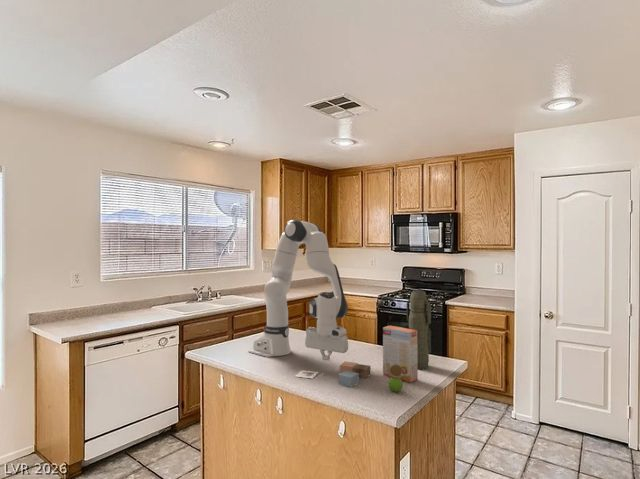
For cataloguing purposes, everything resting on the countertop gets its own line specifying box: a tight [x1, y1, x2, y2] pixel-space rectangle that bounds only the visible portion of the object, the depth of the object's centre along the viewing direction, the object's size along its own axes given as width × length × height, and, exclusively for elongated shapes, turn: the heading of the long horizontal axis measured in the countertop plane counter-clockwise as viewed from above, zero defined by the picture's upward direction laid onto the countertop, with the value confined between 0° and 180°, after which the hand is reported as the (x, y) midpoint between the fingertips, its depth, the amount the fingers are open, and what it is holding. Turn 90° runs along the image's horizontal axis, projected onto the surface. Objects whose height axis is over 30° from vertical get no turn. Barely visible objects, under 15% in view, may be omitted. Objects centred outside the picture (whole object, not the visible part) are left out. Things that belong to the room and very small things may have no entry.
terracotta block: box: [339, 361, 359, 374], centre depth 171 cm, size 6×6×4 cm
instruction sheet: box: [294, 369, 319, 380], centre depth 168 cm, size 8×8×1 cm
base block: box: [352, 363, 371, 380], centre depth 167 cm, size 6×6×4 cm
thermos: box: [406, 289, 432, 370], centre depth 179 cm, size 9×12×35 cm
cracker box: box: [382, 325, 419, 383], centre depth 165 cm, size 14×6×21 cm, turn 43°
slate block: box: [338, 371, 360, 388], centre depth 158 cm, size 6×6×4 cm
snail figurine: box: [386, 359, 404, 393], centre depth 150 cm, size 5×6×12 cm
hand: (326, 359), depth 175 cm, fingers closed
